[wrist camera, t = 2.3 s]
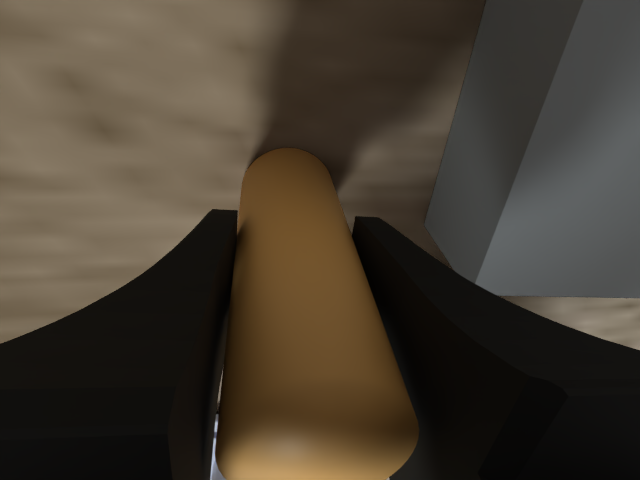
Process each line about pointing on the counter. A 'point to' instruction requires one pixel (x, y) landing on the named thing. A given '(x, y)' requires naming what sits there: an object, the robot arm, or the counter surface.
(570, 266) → the socket block
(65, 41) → the counter surface
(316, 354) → the peg
